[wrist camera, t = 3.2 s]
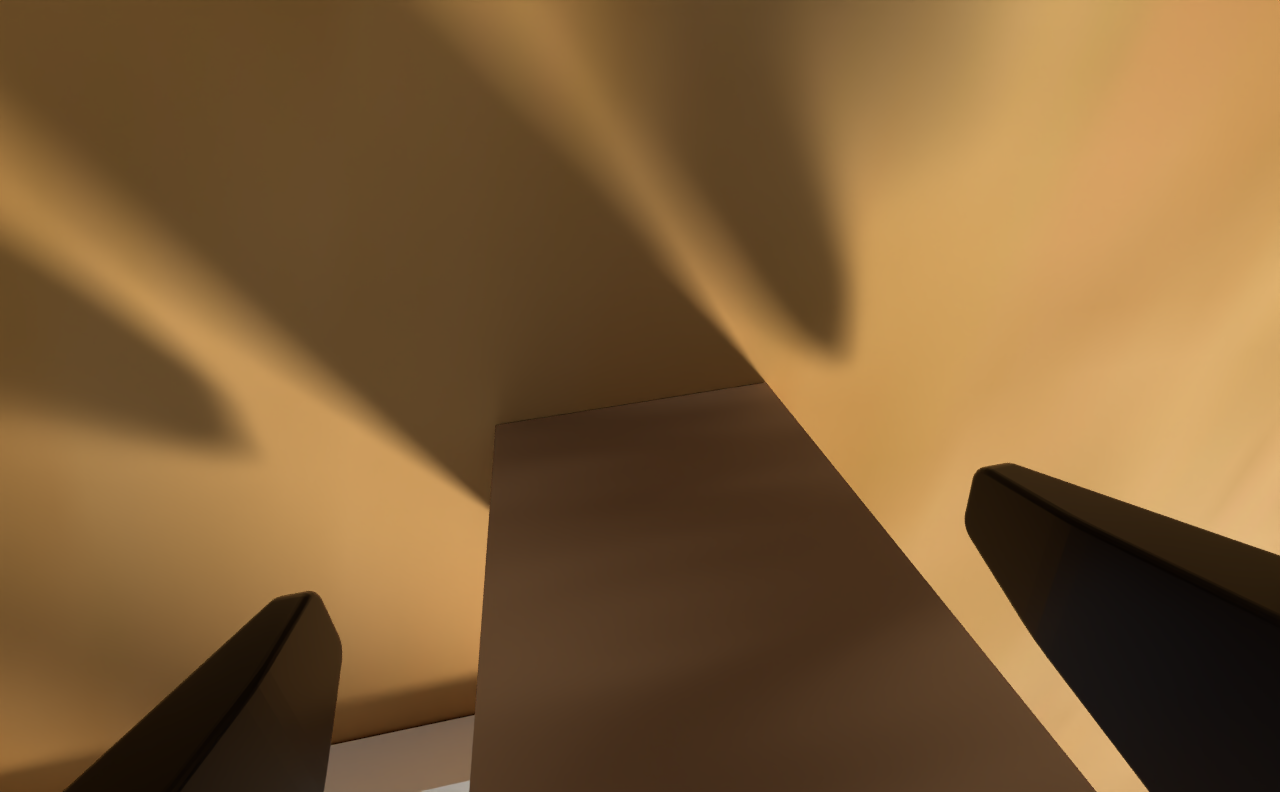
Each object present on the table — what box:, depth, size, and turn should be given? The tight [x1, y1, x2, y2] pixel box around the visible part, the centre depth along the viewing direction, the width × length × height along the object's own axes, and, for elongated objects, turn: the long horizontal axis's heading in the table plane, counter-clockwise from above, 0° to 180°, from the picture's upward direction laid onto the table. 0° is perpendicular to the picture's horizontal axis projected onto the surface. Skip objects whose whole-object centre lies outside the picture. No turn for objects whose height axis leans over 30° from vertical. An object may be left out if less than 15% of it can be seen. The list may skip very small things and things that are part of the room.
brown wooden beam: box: [469, 383, 1096, 792], centre depth 5 cm, size 4×2×9 cm, turn 95°
